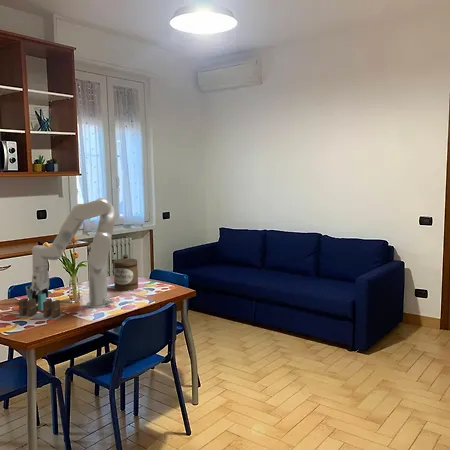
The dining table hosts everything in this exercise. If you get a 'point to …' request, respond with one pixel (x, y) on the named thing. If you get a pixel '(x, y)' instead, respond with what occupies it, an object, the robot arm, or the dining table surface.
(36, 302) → the flower pot
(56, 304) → the domino
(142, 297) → the dining table surface
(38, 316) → the felt runner
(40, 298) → the teal domino
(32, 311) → the domino
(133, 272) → the wooden container
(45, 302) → the domino
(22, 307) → the domino
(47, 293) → the robot arm
